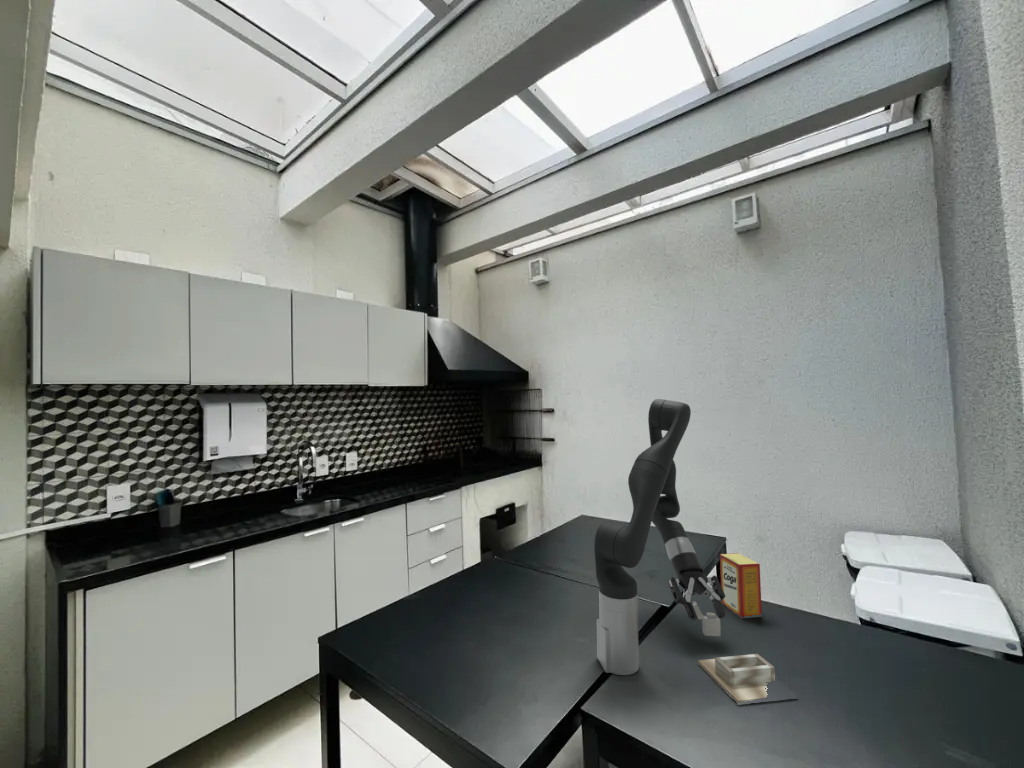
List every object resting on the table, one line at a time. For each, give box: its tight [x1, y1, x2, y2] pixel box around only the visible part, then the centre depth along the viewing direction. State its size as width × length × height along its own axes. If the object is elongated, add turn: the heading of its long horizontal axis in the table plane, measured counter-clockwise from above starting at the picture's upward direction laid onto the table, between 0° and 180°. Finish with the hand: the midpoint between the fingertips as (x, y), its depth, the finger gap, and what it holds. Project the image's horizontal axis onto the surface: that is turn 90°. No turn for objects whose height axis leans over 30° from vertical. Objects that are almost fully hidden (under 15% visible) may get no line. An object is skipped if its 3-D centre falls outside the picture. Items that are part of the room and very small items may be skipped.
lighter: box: [690, 600, 722, 637], centre depth 107 cm, size 7×2×8 cm, turn 85°
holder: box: [697, 653, 776, 703], centre depth 93 cm, size 14×14×4 cm
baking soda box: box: [719, 552, 763, 617], centre depth 126 cm, size 10×6×16 cm
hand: (708, 618), depth 106 cm, fingers closed on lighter, 7 cm apart
